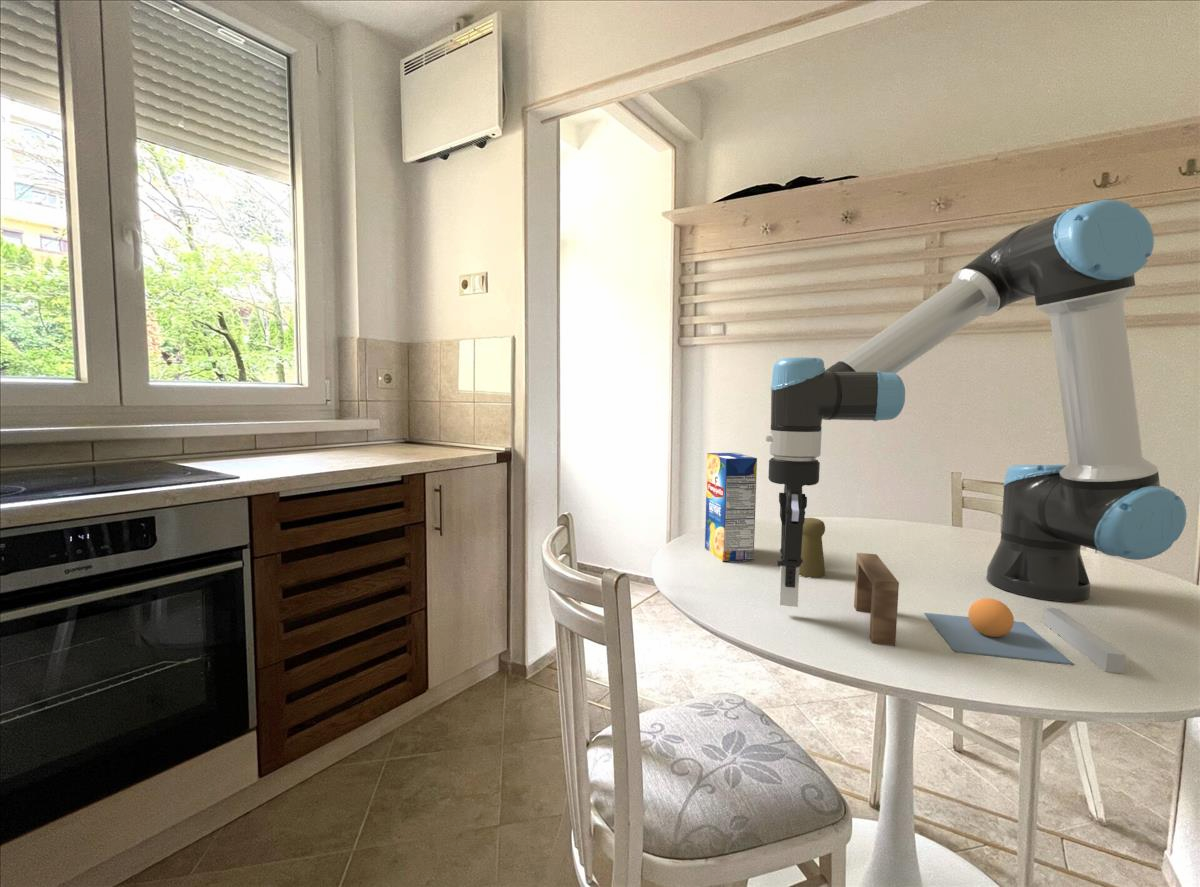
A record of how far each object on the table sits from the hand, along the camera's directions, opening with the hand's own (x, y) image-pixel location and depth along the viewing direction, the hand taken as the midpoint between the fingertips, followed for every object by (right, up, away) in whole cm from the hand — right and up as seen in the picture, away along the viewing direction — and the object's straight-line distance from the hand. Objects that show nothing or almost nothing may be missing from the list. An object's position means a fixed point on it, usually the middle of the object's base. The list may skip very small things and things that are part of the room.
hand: (788, 604), depth 90 cm
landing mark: (+28, -3, -7) cm, 29 cm away
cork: (+11, 0, +22) cm, 25 cm away
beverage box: (-2, +1, +35) cm, 35 cm away
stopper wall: (+38, -3, -10) cm, 40 cm away
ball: (+28, 0, -7) cm, 28 cm away
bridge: (+12, -2, -3) cm, 13 cm away
